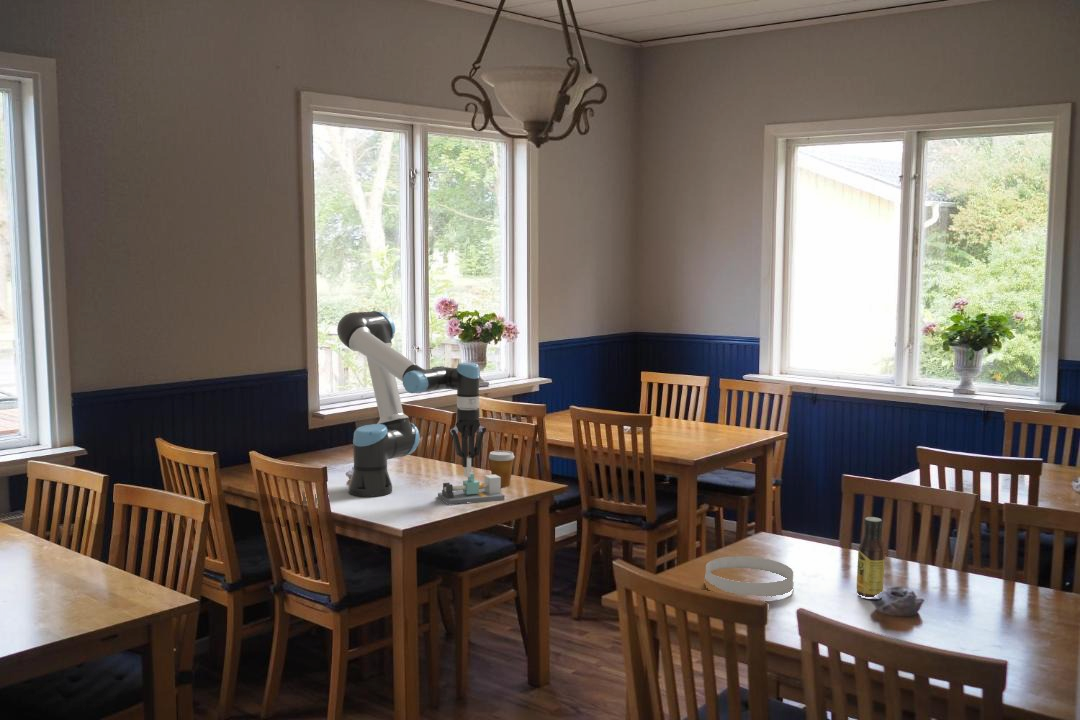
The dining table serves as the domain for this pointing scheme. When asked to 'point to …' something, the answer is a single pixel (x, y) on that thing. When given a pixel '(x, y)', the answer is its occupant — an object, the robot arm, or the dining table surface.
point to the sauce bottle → (871, 559)
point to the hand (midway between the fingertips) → (467, 476)
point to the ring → (748, 587)
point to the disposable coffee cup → (502, 465)
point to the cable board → (487, 494)
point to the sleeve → (471, 485)
